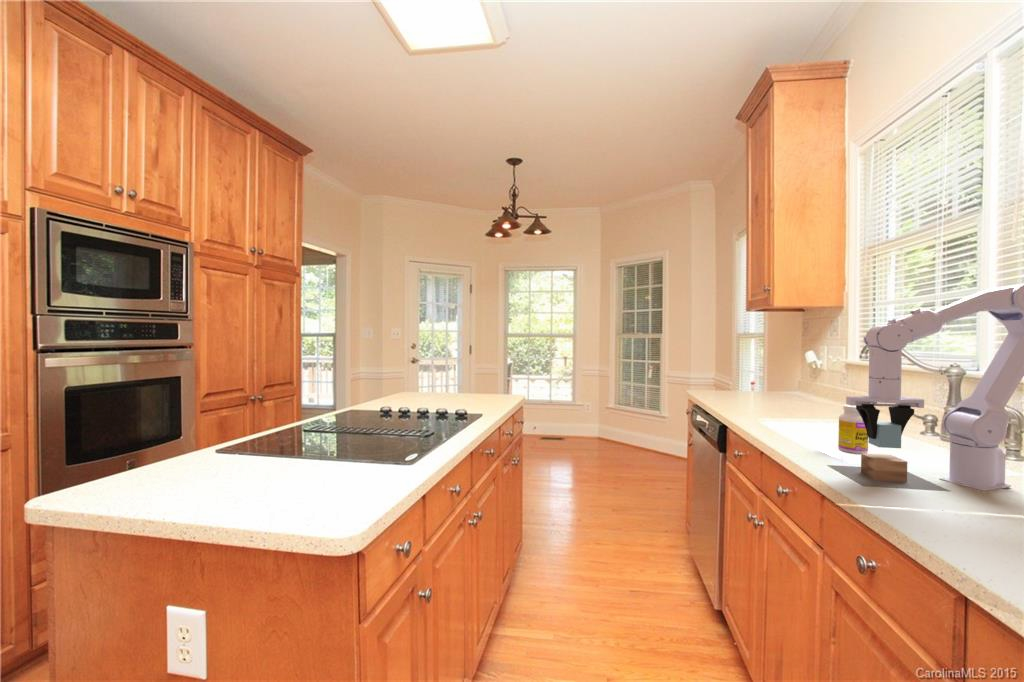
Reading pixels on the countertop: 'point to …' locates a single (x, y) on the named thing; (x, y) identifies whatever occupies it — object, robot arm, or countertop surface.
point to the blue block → (887, 435)
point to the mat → (865, 480)
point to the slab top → (884, 462)
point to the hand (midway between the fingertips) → (883, 438)
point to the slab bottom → (884, 474)
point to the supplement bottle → (852, 432)
